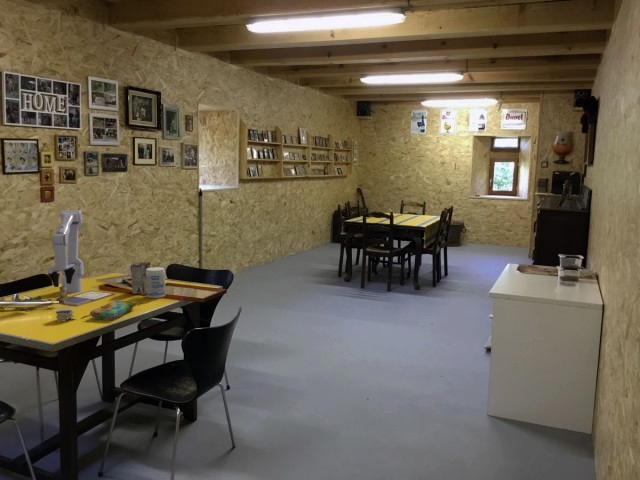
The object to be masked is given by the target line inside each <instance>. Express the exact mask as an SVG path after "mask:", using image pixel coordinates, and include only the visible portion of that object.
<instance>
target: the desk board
mask: <svg viewBox="0 0 640 480" xmlns="http://www.w3.org/2000/svg"><path fill="white" fill-rule="evenodd" d="M91 291H93V292H101V293H109V294H112V295H108V296H105V297H102V298H99V299H95V300H93V299H90V300H91V302H89V303H86V304H82V305H79V306H75V305H68V304H64V302H59V303H55V304H56V305H57V304H58V305H63V306H68V307H77V308H78V307H80V306H83V305H87V304H90V303H93V302H96V301H100V300H103V299H106V298H109V297H112V296H116V295H117V293H114V292H105V291H99V290H89V291H85V292H81V293H77V294H74V295H70V297H71V299H73V298H78V297H74V296H77V295H80V294H84V293H87V292H91ZM84 299H86V298H84ZM55 301H57V299H56V300H55Z"/></svg>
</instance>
